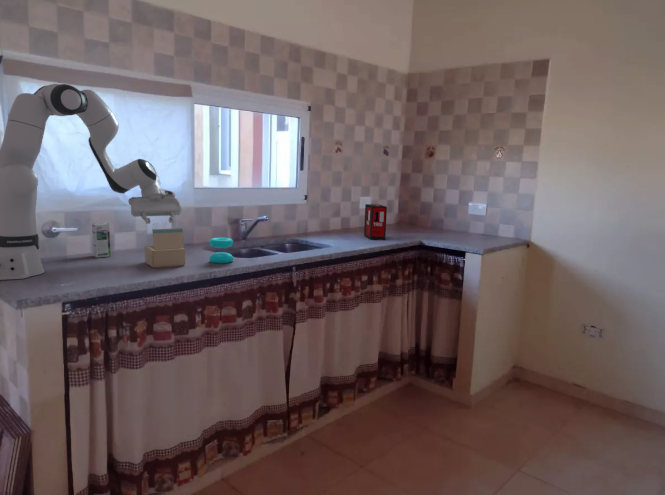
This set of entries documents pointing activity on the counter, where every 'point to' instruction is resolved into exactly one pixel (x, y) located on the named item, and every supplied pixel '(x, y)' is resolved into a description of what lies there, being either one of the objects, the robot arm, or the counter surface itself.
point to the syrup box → (101, 240)
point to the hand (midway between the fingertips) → (160, 222)
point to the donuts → (221, 256)
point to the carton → (164, 257)
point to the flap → (168, 238)
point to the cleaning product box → (375, 221)
